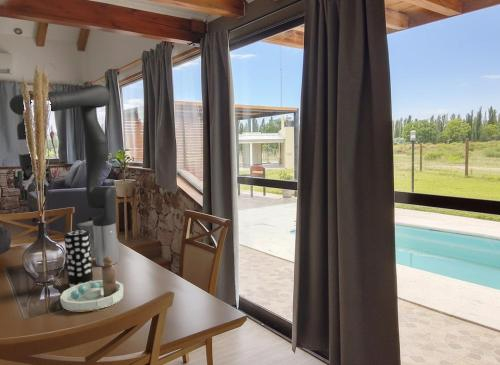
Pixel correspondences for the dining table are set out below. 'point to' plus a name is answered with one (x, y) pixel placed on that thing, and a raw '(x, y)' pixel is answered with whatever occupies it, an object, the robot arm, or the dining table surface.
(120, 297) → the tray
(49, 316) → the dining table surface
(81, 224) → the coffeepot
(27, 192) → the robot arm
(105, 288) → the pepper mill
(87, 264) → the white-spotted black cylinder
